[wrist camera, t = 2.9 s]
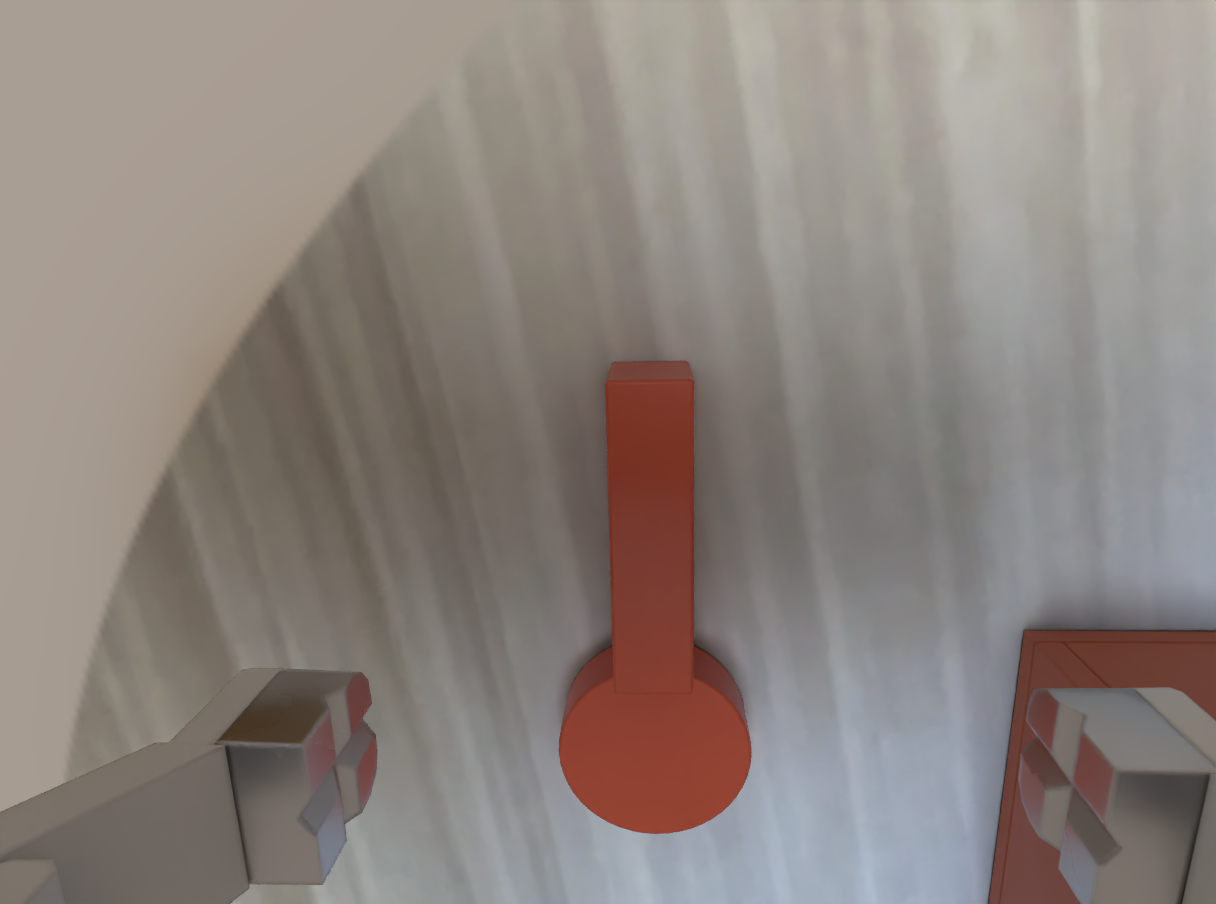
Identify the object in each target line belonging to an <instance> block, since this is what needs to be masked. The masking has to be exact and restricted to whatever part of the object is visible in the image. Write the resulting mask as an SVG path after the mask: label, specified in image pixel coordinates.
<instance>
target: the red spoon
mask: <svg viewBox="0 0 1216 904" xmlns="http://www.w3.org/2000/svg"><path fill="white" fill-rule="evenodd" d="M605 396H606V432H607V468H608V504H609V540H610V575H611V611H612V647H610V648H608V649H606V650H604V651H603V652H601V653H599V654H598V655H597V656H595V657H594V658H593V659H592V660H590V661H589V662H588V663H587V664H586V665H585V666H584V667H583V668H582V669H581V671H580V672H579V674H578V675H577V677H576V678H575V680H574V682H573V684H572V686H571V688H570V690H569V693H568V696H567V701H566V706H565V712H564V717H563V722H562V728H561V733H560V739H559V757H560V763H561V767H562V770H563V773H564V776H565V778H566V780H567V783H568V784H569V786H570V788H571V789H572V791H573V793H574V794H575V795H576V796H577V798H578V799H579V800H580V801H581V802H582V803H583V804H584V805H585V806H586V807H587V808H588V809H589V810H590V811H592V812H593V813H594V814H596V815H597V816H599V817H600V818H602V819H604V820H605V821H607V822H609V823H611V824H614V825H616V826H618V827H621V828H624V829H628V830H631V831H636V832H642V833H653V834H661V833H673V832H680V831H683V830H687V829H691V828H694V827H696V826H699V825H701V824H703V823H705V822H707V821H709V820H711V819H713V818H714V817H715V816H717V815H718V814H720V813H721V812H722V811H723V810H724V809H726V808H727V807H728V806H729V805H730V804H731V803H732V801H733V800H734V799H735V798H736V796H737V795H738V793H739V792H740V790H741V789H742V787H743V785H744V783H745V780H746V778H747V776H748V772H749V768H750V763H751V741H750V736H749V731H748V726H747V721H746V715H745V710H744V705H743V700H742V697H741V694H740V692H739V689H738V687H737V685H736V683H735V681H734V680H733V678H732V677H731V675H730V674H729V673H728V671H727V670H726V669H725V668H724V667H723V666H722V665H721V664H720V663H719V662H718V661H717V660H715V659H714V658H713V657H711V656H710V655H709V654H707V653H705V652H704V651H702V650H700V649H699V648H696V647H694V646H693V628H694V380H693V376H692V373H691V369H690V366H689V363H688V362H687V361H656V362H614V363H612V365H611V368H610V371H609V374H608V377H607V380H606V383H605Z"/></svg>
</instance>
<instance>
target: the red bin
mask: <svg viewBox="0 0 1216 904" xmlns="http://www.w3.org/2000/svg"><path fill="white" fill-rule="evenodd" d="M1156 687H1170V688H1173V689H1175V690H1178V691H1181V692H1183V693H1184V694H1185V695H1187V696H1188V697H1189V698H1190V699H1191V700H1192V701H1194V702H1195V703H1196V704H1197V705H1198V706H1199V707H1200V708H1202V709H1203V710H1204V711H1205V712H1206V713H1207V714H1208V715H1210V716H1211V717H1212V718H1213V719H1214V720H1215V721H1216V631H1025V632H1024V638H1023V646H1022V653H1021V661H1020V669H1019V676H1018V684H1017V692H1016V699H1015V707H1014V715H1013V722H1012V730H1011V738H1010V745H1009V753H1008V761H1007V768H1006V776H1005V783H1004V791H1003V799H1002V806H1001V814H1000V822H999V829H998V837H997V845H996V852H995V860H994V868H993V875H992V883H991V891H990V898H989V904H1081V903H1080V902H1079V900H1078V899H1077V897H1076V895H1075V894H1074V892H1073V891H1072V889H1071V888H1070V886H1069V884H1068V883H1067V881H1066V880H1065V878H1064V876H1063V875H1062V873H1061V872H1060V870H1059V869H1058V868H1059V861H1060V854H1061V852H1060V851H1059V850H1057V849H1056V848H1054V847H1053V846H1051V845H1050V844H1048V843H1047V842H1045V841H1044V840H1042V839H1041V838H1039V836H1038V835H1037V833H1036V831H1035V830H1034V828H1033V826H1032V825H1031V823H1030V821H1029V819H1028V817H1027V814H1026V811H1025V809H1024V806H1023V803H1022V798H1021V792H1020V785H1019V778H1018V777H1019V767H1020V757H1021V752H1022V751H1023V750H1024V749H1025V748H1026V747H1027V746H1028V745H1029V744H1030V743H1031V742H1032V741H1033V740H1034V739H1035V738H1036V737H1037V736H1036V734H1035V733H1034V731H1033V730H1032V728H1031V727H1030V725H1029V724H1028V723H1027V721H1026V714H1027V707H1028V701H1029V699H1030V697H1031V695H1032V693H1033V691H1034V689H1039V688H1156Z"/></svg>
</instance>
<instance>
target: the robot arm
mask: <svg viewBox="0 0 1216 904" xmlns="http://www.w3.org/2000/svg"><path fill="white" fill-rule="evenodd" d="M371 704H372V701H371V694H370V688H369V681H368V679H367V678H366V677H365V675H364V674H363V673H362V672H347V671H323V670H300V669H287V670H286V669H283V668H250V669H245V670H241V671H240V672H239V673H238V674H237V675H236V676H235V677H234V678H233V679H232V680H231V681H230V682H229V683H228V684H227V685H226V686H225V687H224V688H223V689H222V690H221V691H220V692H219V693H218V694H217V695H216V696H215V697H214V698H213V699H212V700H211V701H210V702H209V703H208V704H207V705H206V706H205V707H204V708H203V709H202V710H201V711H200V712H199V713H198V714H197V715H196V716H195V717H194V718H193V719H192V720H191V721H190V722H189V723H188V724H187V725H186V726H185V727H184V728H183V729H182V730H181V731H180V732H179V733H178V734H177V735H176V736H175V737H174V738H173V739H172V740H171V741H170V742H169V743H154V744H152V745H149V746H147V747H145V748H143V749H140V750H138V751H136V752H134V753H132V754H129V755H127V756H125V757H123V758H120V759H118V760H116V761H114V762H111V763H109V764H107V765H105V766H102V767H100V768H98V769H96V770H93V771H91V772H89V773H87V774H84V775H82V776H80V777H78V778H75V779H73V780H71V781H69V782H66V783H64V784H62V785H60V786H58V787H55V788H53V789H51V790H49V791H46V792H44V793H42V794H40V795H38V796H35V797H33V798H31V799H28V800H26V801H24V802H22V803H19V804H17V805H15V806H13V807H10V808H8V809H6V810H4V811H2V812H0V904H230V903H231V902H233V901H234V900H235V899H236V898H238V897H239V896H240V895H241V894H243V893H244V892H245V891H246V890H248V889H249V884H291V885H323V884H324V882H325V880H326V878H327V876H328V874H329V872H330V871H331V869H332V867H333V865H334V863H335V861H336V859H337V858H338V856H339V854H340V852H341V850H342V848H343V846H344V845H345V843H346V841H347V838H346V830H345V823H347V822H348V821H350V820H351V819H353V818H354V817H356V816H357V815H359V814H360V813H362V811H363V809H364V807H365V805H366V803H367V801H368V799H369V797H370V795H371V791H372V787H373V783H374V779H375V775H376V768H377V744H376V734H375V733H374V732H373V731H372V730H371V728H370V727H369V726H368V725H367V724H366V723H365V721H364V720H363V719H362V718H363V717H364V715H365V713H366V712H367V710H368V709H369V707H370V705H371ZM1026 721H1027V723H1028V724H1029V725H1030V727H1031V728H1032V730H1033V731H1034V733H1035V734H1036V736H1037V737H1036V738H1035V739H1034V740H1033V741H1032V742H1031V743H1030V744H1029V745H1028V746H1027V747H1026V748H1025V749H1024V750H1023V751H1022V752H1021V757H1020V767H1019V777H1018V778H1019V785H1020V792H1021V798H1022V803H1023V806H1024V809H1025V811H1026V814H1027V817H1028V819H1029V821H1030V823H1031V825H1032V826H1033V828H1034V830H1035V831H1036V833H1037V835H1038V836H1039V838H1041V839H1042V840H1044V841H1045V842H1047V843H1048V844H1050V845H1051V846H1053V847H1054V848H1056V849H1057V850H1059V851H1060V852H1061V854H1060V861H1059V868H1058V869H1059V870H1060V872H1061V873H1062V875H1063V876H1064V878H1065V880H1066V881H1067V883H1068V884H1069V886H1070V888H1071V889H1072V891H1073V892H1074V894H1075V895H1076V897H1077V899H1078V900H1079V902H1080V903H1081V904H1216V721H1215V720H1214V719H1213V718H1212V717H1211V716H1210V715H1208V714H1207V713H1206V712H1205V711H1204V710H1203V709H1202V708H1200V707H1199V706H1198V705H1197V704H1196V703H1195V702H1194V701H1192V700H1191V699H1190V698H1189V697H1188V696H1187V695H1185V694H1184V693H1183V692H1181V691H1178V690H1175V689H1173V688H1170V687H1156V688H1039V689H1034V691H1033V693H1032V695H1031V697H1030V699H1029V701H1028V707H1027V714H1026Z"/></svg>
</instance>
